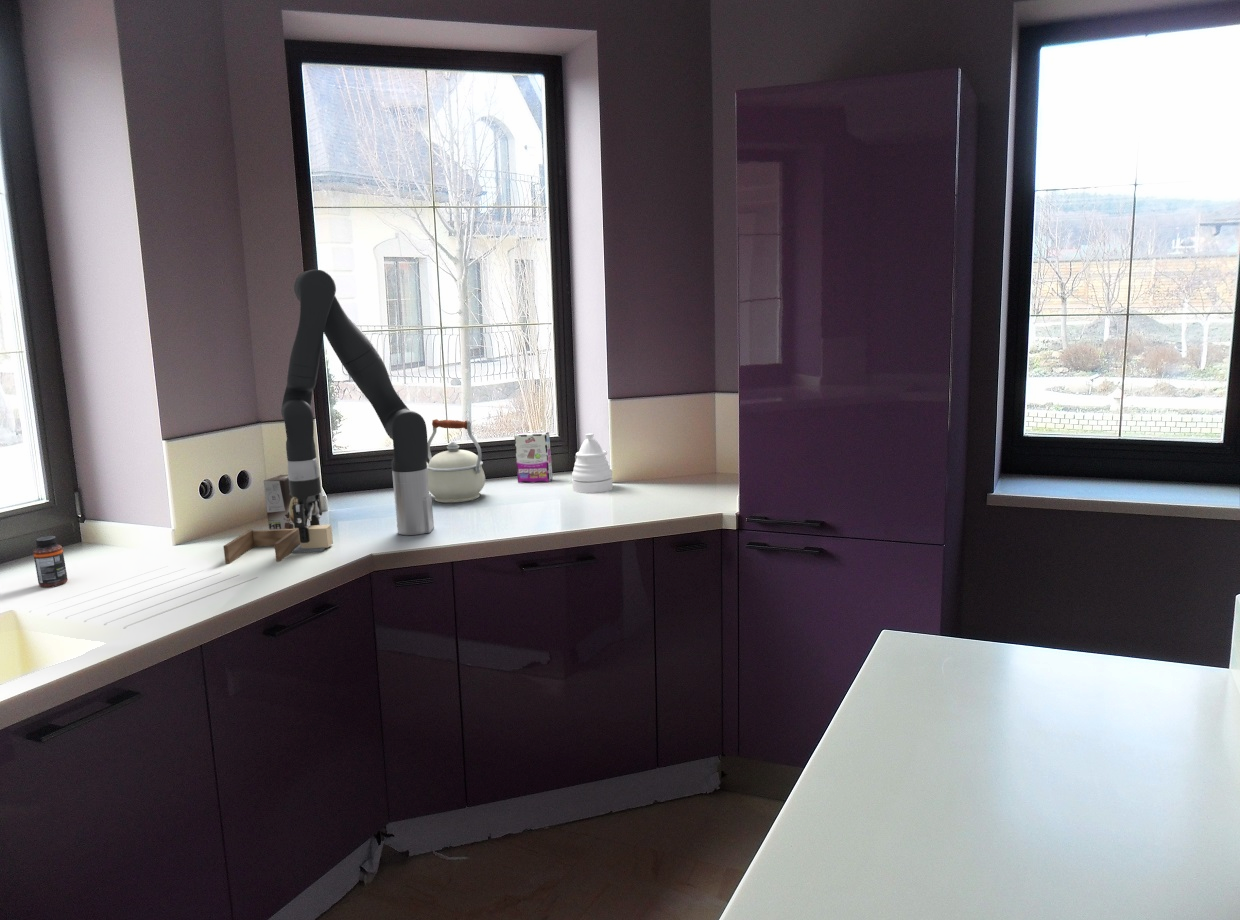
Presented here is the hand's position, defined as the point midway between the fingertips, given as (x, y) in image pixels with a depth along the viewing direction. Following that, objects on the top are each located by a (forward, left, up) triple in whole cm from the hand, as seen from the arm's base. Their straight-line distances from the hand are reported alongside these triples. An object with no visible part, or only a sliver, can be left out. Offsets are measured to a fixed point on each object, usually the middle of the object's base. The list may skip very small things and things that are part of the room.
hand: (310, 538), depth 241 cm
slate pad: (0, 0, -3) cm, 3 cm away
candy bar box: (-51, -76, -3) cm, 92 cm away
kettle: (-27, -55, -3) cm, 61 cm away
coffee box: (+12, -17, -3) cm, 21 cm away
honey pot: (-71, -59, -3) cm, 92 cm away
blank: (-2, 0, -2) cm, 3 cm away
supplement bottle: (+54, +22, -3) cm, 58 cm away
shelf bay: (+11, +3, -3) cm, 12 cm away
